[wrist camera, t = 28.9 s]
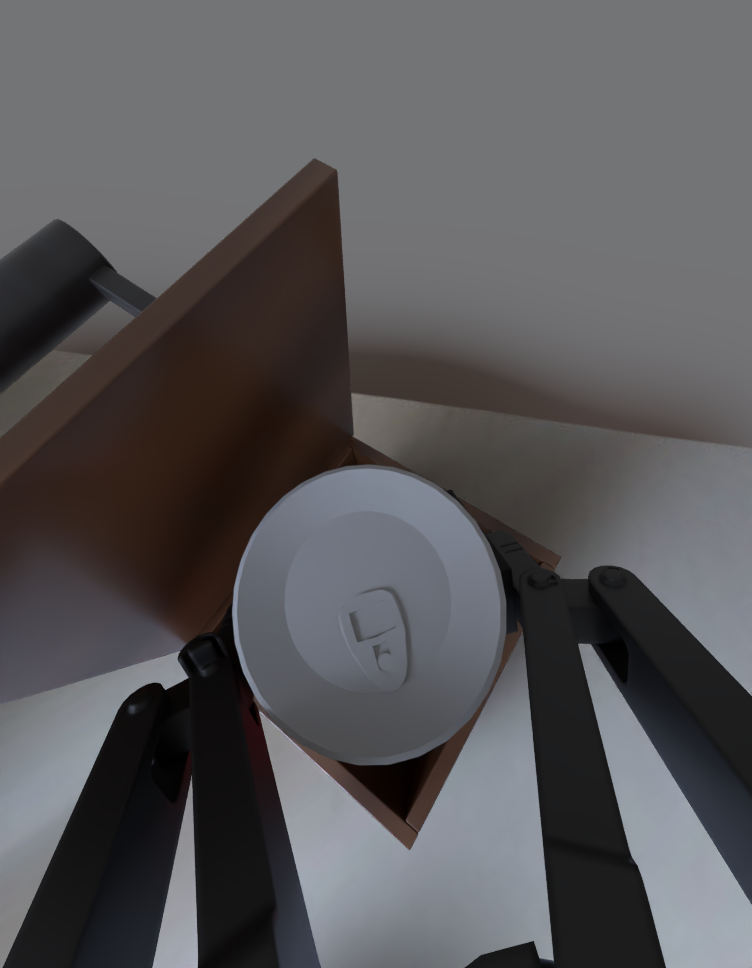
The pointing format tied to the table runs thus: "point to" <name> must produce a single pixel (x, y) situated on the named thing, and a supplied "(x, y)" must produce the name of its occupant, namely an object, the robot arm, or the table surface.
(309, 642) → the canned food
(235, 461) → the bin lid
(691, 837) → the table surface
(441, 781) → the bin
